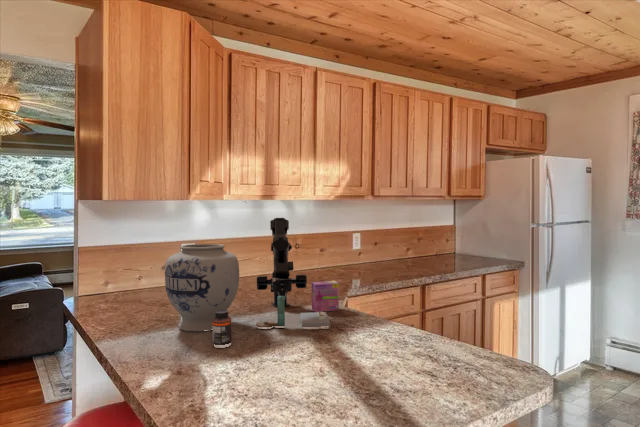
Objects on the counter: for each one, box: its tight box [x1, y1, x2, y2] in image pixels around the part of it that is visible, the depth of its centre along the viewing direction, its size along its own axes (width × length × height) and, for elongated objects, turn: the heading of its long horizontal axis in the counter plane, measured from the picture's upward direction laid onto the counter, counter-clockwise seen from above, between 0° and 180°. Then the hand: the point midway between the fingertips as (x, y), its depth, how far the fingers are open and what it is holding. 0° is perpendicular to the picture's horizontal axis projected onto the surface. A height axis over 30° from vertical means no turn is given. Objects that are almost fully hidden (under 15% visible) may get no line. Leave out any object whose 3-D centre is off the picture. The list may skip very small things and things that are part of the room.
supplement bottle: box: [212, 309, 233, 345], centre depth 138 cm, size 6×6×11 cm
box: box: [311, 280, 340, 312], centre depth 182 cm, size 10×6×12 cm, turn 105°
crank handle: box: [255, 296, 286, 327], centre depth 157 cm, size 7×11×12 cm, turn 61°
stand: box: [299, 311, 331, 328], centre depth 161 cm, size 14×10×5 cm
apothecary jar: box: [164, 243, 240, 332], centre depth 161 cm, size 27×27×30 cm
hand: (282, 301), depth 158 cm, fingers closed, pressing on crank handle
